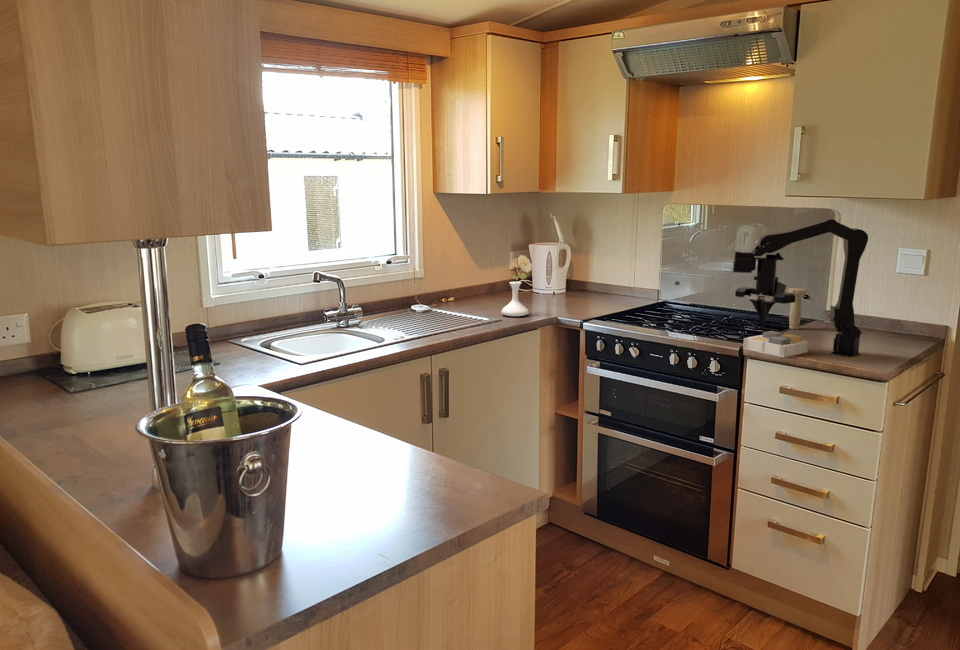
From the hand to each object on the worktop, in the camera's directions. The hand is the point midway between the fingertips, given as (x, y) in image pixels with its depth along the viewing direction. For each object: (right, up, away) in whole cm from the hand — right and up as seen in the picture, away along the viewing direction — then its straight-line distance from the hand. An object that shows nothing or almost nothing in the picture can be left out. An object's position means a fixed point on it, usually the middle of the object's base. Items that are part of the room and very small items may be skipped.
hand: (762, 321), depth 238 cm
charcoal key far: (+5, -7, +5) cm, 10 cm away
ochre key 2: (+9, -8, -1) cm, 12 cm away
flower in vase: (-77, +2, +64) cm, 100 cm away
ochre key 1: (0, -9, +2) cm, 9 cm away
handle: (+26, -3, +36) cm, 44 cm away
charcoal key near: (+4, -8, -4) cm, 10 cm away
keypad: (+4, -9, +1) cm, 10 cm away
